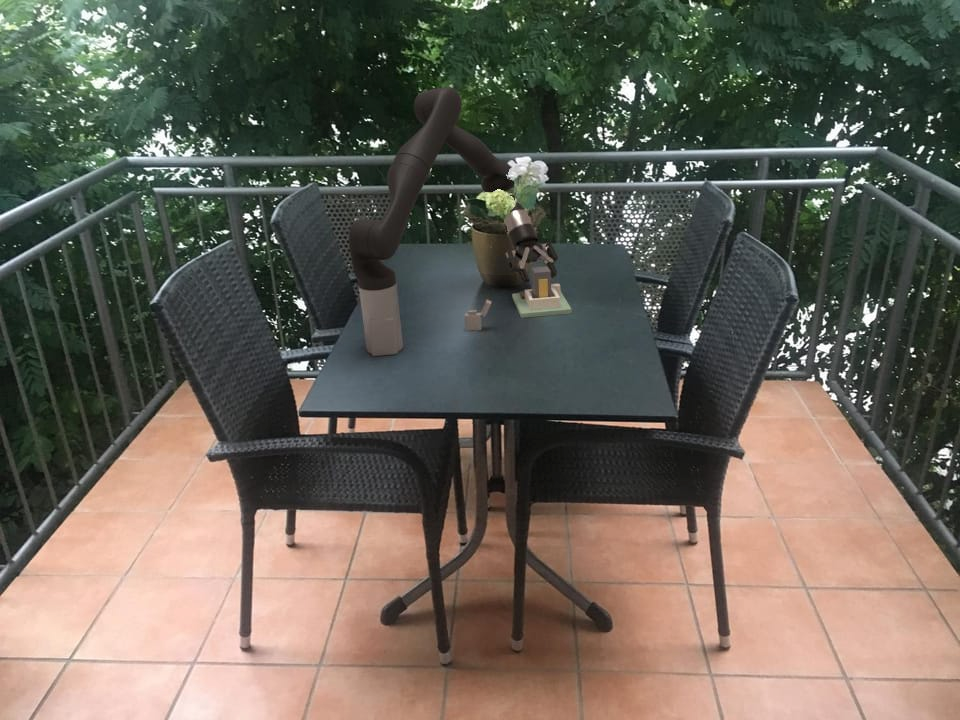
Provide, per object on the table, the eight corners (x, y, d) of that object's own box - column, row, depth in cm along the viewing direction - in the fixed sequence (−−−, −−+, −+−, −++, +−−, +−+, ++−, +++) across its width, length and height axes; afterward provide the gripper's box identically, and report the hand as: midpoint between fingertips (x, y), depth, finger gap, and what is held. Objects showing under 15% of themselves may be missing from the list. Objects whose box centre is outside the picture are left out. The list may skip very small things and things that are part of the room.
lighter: (465, 330, 204) (464, 302, 201) (466, 328, 206) (464, 300, 202) (492, 329, 204) (491, 301, 200) (492, 327, 205) (491, 299, 202)
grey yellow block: (551, 306, 213) (551, 272, 209) (535, 308, 213) (534, 273, 209) (548, 300, 218) (547, 266, 214) (532, 301, 217) (531, 267, 213)
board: (571, 313, 211) (571, 298, 209) (521, 317, 210) (520, 303, 208) (559, 293, 226) (559, 279, 224) (512, 297, 225) (511, 284, 223)
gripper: (501, 227, 212) (522, 278, 207) (546, 218, 217) (568, 268, 212) (493, 241, 218) (514, 291, 214) (537, 232, 224) (558, 281, 219)
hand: (541, 279), depth 213 cm, fingers open, 8 cm apart
